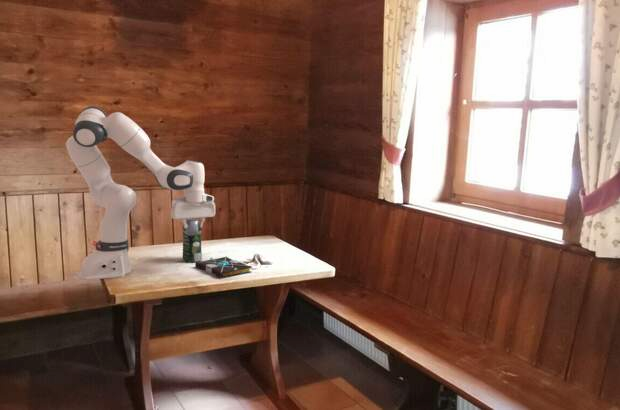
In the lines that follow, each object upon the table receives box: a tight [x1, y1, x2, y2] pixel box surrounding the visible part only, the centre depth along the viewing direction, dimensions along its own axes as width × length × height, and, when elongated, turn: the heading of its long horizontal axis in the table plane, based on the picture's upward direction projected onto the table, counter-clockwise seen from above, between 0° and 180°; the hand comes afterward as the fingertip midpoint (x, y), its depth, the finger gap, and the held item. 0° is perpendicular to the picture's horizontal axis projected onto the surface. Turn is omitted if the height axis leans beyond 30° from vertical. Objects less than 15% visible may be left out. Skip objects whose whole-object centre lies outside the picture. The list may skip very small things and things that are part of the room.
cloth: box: [240, 251, 277, 271], centre depth 250 cm, size 22×19×6 cm
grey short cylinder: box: [185, 218, 200, 236], centre depth 232 cm, size 5×5×6 cm
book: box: [194, 255, 252, 280], centre depth 237 cm, size 22×17×5 cm
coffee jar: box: [182, 223, 203, 263], centre depth 250 cm, size 10×8×19 cm
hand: (193, 227), depth 232 cm, fingers closed on grey short cylinder, 5 cm apart
